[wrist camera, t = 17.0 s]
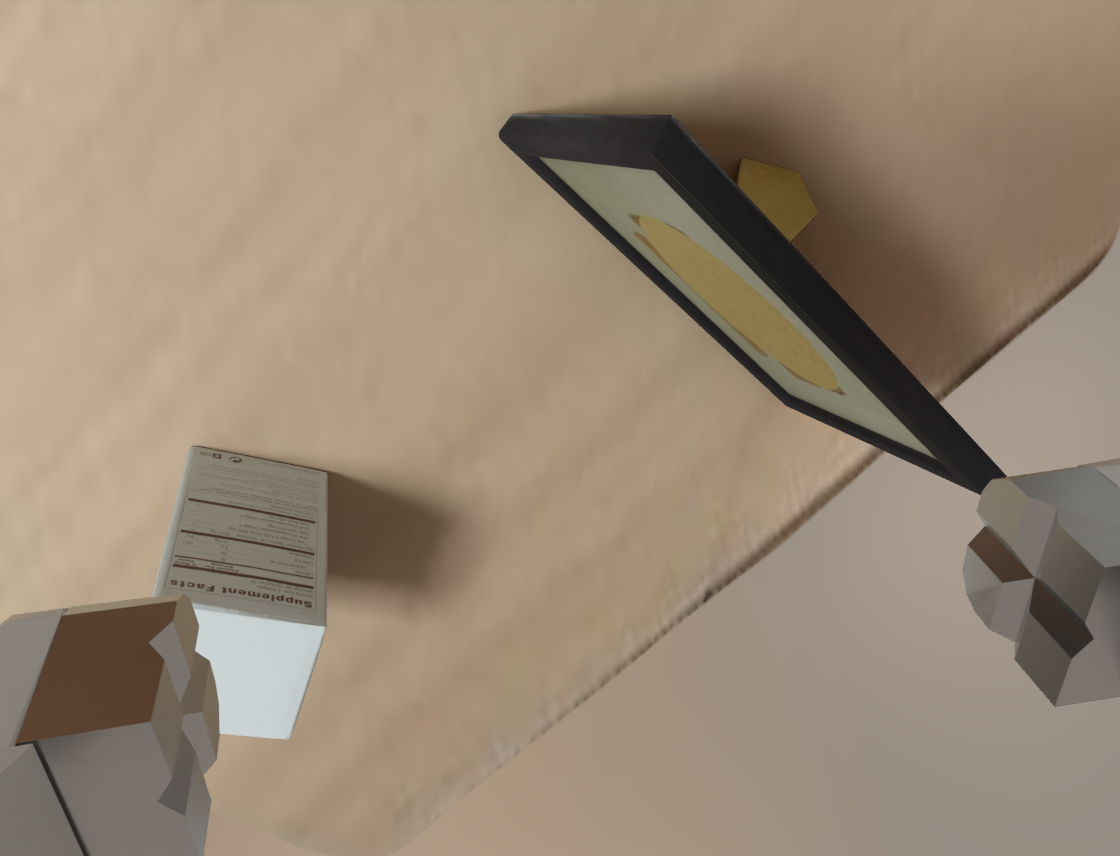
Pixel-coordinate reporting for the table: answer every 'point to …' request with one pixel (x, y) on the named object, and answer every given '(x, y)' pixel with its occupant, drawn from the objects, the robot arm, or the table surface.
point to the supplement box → (251, 581)
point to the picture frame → (744, 276)
